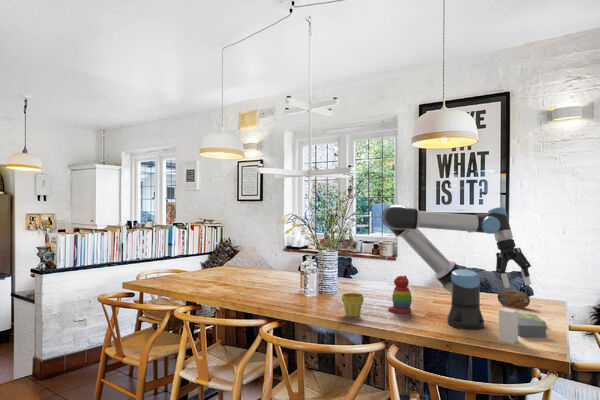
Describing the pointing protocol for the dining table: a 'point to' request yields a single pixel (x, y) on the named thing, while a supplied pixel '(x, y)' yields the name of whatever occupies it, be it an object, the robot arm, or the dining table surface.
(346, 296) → the plant pot
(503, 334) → the cream block
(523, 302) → the brown flat oval
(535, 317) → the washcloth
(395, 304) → the stacking bear
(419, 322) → the dining table surface
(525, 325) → the charcoal base block
